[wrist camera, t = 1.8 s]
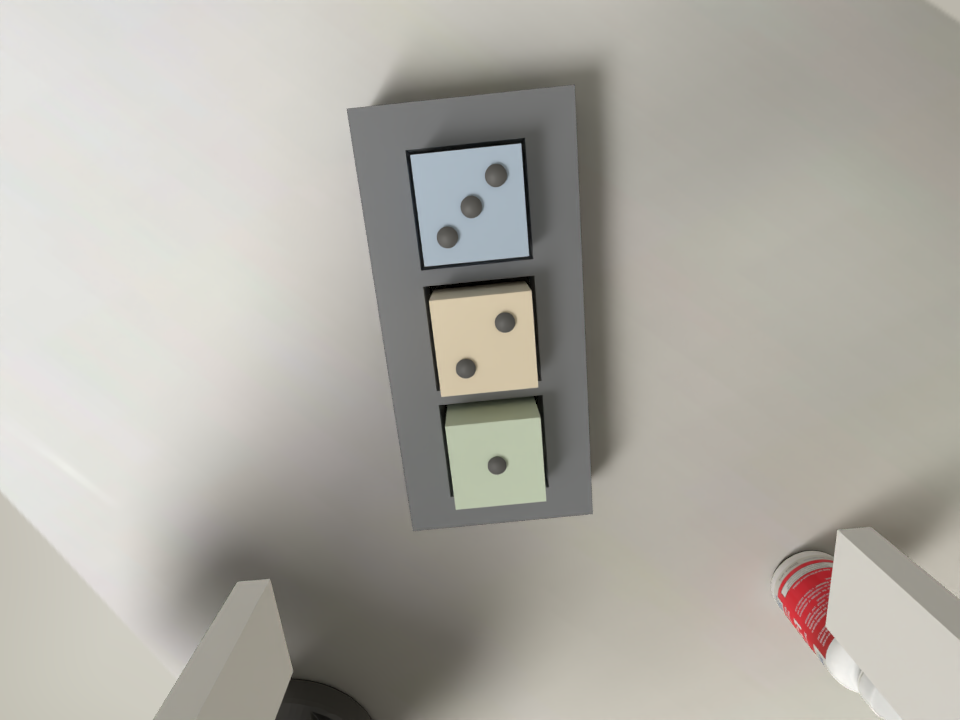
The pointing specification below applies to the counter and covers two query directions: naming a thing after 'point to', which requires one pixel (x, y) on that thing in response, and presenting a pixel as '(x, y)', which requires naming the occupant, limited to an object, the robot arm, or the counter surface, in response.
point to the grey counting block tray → (550, 266)
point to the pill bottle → (821, 622)
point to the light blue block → (471, 204)
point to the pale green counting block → (495, 452)
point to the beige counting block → (484, 338)
